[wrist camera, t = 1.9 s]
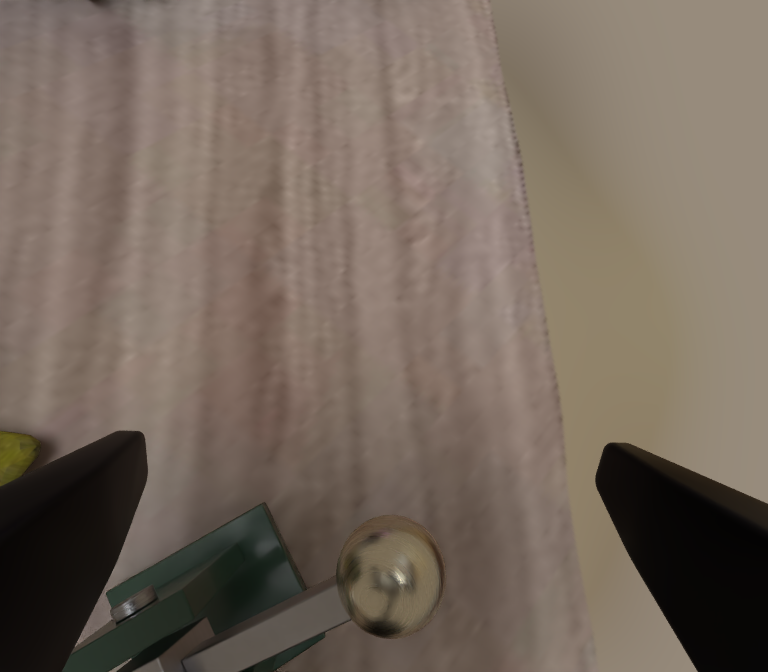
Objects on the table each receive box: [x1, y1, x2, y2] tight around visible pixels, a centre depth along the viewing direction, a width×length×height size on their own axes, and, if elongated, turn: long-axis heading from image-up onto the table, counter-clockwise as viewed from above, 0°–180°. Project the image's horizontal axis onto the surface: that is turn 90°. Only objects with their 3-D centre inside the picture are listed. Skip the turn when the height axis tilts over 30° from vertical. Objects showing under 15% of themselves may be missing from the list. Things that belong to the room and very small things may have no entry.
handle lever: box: [117, 515, 446, 672], centre depth 14 cm, size 12×3×3 cm, turn 120°
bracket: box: [62, 502, 325, 672], centre depth 18 cm, size 8×7×10 cm
